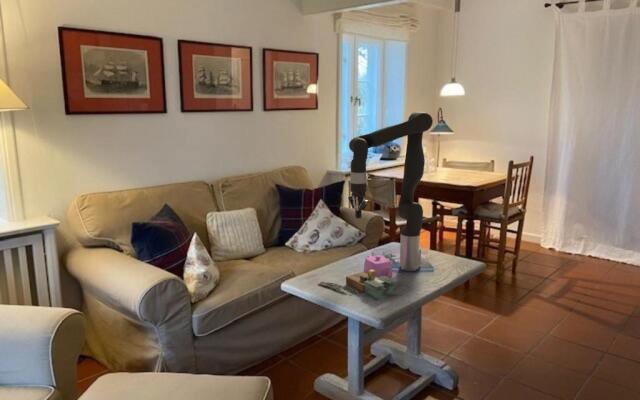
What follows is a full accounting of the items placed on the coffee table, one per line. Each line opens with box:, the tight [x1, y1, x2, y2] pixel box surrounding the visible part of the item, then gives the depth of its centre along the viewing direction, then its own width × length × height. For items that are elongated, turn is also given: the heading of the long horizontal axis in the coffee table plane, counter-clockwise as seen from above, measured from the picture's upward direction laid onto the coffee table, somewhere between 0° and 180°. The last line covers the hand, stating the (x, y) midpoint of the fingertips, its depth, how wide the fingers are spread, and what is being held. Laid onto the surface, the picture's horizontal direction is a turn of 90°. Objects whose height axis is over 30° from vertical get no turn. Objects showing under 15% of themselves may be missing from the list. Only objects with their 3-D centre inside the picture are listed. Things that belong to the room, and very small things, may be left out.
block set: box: [345, 271, 398, 302], centre depth 213 cm, size 11×21×6 cm, turn 34°
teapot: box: [363, 254, 393, 279], centre depth 227 cm, size 18×10×10 cm, turn 24°
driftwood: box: [318, 281, 361, 297], centre depth 216 cm, size 21×7×2 cm, turn 45°
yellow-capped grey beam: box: [368, 269, 385, 286], centre depth 209 cm, size 2×8×5 cm, turn 34°
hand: (358, 217), depth 229 cm, fingers closed
